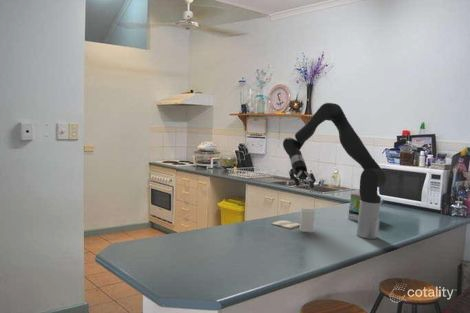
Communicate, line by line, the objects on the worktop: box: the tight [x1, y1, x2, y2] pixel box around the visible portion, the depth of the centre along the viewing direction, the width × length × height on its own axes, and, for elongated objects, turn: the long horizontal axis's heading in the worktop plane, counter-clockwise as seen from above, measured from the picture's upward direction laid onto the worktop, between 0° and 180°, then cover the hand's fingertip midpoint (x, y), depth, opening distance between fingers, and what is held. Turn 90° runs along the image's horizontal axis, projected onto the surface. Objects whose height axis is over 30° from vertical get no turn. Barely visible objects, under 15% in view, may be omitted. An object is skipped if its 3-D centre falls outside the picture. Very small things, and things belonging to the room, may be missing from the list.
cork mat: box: [271, 219, 300, 230], centre depth 206 cm, size 11×11×1 cm
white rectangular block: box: [298, 207, 315, 233], centre depth 198 cm, size 6×6×10 cm
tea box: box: [347, 191, 361, 222], centre depth 232 cm, size 15×10×15 cm, turn 143°
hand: (305, 186), depth 209 cm, fingers open, 8 cm apart
